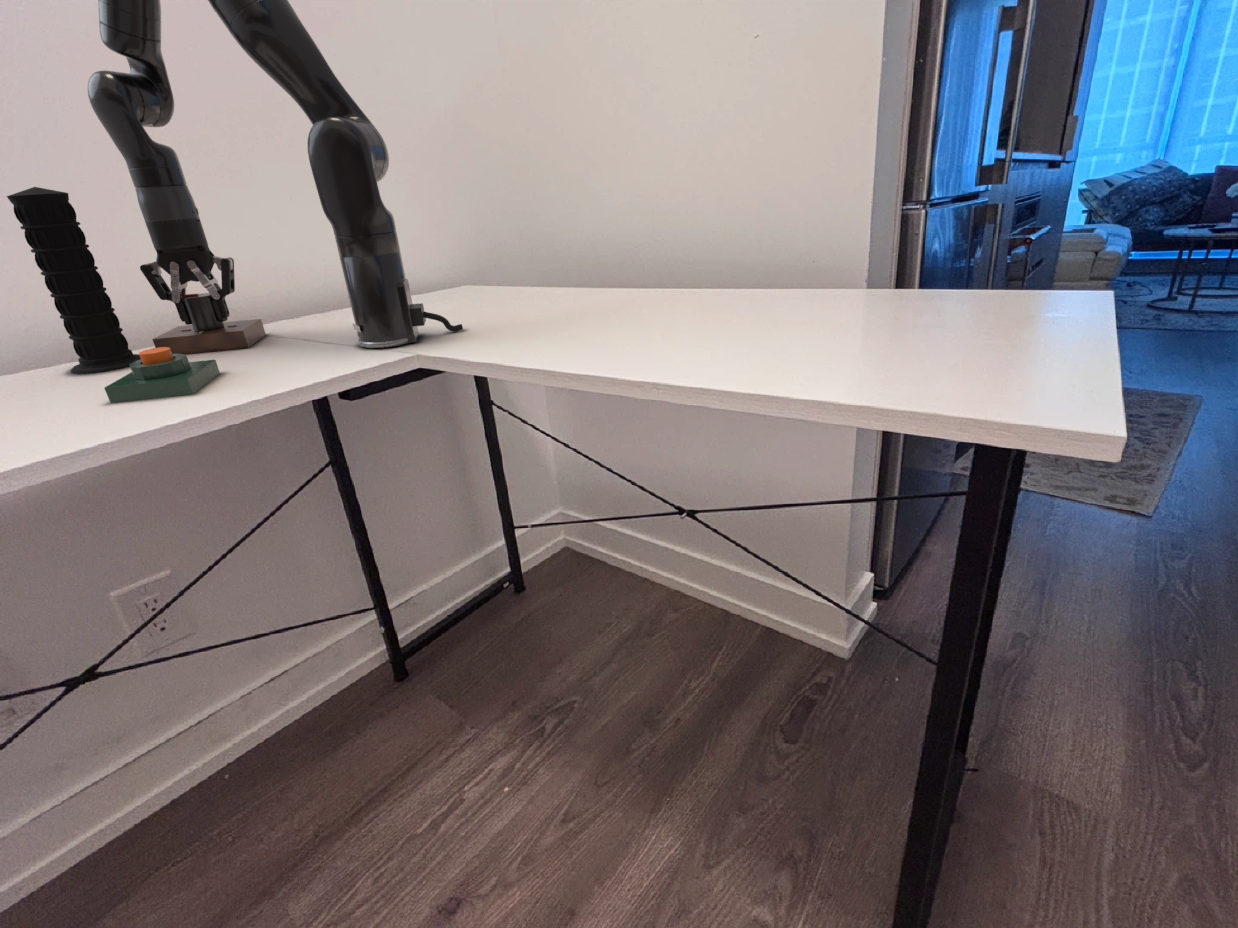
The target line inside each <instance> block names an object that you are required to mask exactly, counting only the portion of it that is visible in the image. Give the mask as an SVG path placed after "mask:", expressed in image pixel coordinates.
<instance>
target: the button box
mask: <svg viewBox="0 0 1238 928" xmlns="http://www.w3.org/2000/svg"><path fill="white" fill-rule="evenodd" d="M172 355H173V357H174V359H173V360H170V361H167V362H162V363H157V364H148V365H143V363H142V360H137V361H135V362H133V363H131V364H129V366H130V367H129V368H130V370H131V372H129V373H128V374H125V375H124V376H122V377H120V378H119V379H117V380H115V381H114V382H113V381H112V383H110V384H107V386H104V388H103V389H104V391H105V393H106V396H107V398H108V400H109V403H110V404H117V403H126V402H134V401H136V402H137V401H144V400H145V401H146V400H153V399H163V398H164V399H165V398H172V397H173V398H174V397H181V396H190V395H195V394H196V393H197V392H198V391H200V390H201V389H202V388H203V387H205V386H207V384H209V383H210V382H211V381H213V380H214V379H215V378H216V377H218V376H219V375H220V374H221V372H220V369H219V366H218V363H217V360H216V359H206V360H197V361H189V359H188V356H187V354H172Z"/></svg>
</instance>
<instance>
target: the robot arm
mask: <svg viewBox="0 0 1238 928" xmlns="http://www.w3.org/2000/svg"><path fill="white" fill-rule="evenodd" d="M97 2H98V3H97V4H98V20H99V21H98V24H99V25H98V27H99V35H100V39H101V41H102V43H103V45H104V46H105V47H107V48H108V49H109V50H110V51H112V52H113V53H115V54H118V55H120V56H122V57H125V58H126V60H127V61H126V62H127V63H128V67H129V71H130V72H129V73H128V72H121V71H114V70H97V71H95V72H93V73H92V74H91V75H90V77H89V79H88V82H87V97H88V101H89V104H90V105H91V108H92V110H93V112H94V113H95V115H96V117H97V119H98V121H99V122H100V123H101V125H102V127H103V128H104V130H105V131H106V133H107V134H108V136H109V138H110V139H111V141H112V142H113V144H114V145H115V147H116V149H117V150H118V151H119V153H120V155H121V156H122V157H123V159H124V161H125V164H126V166H127V169H128V172H129V175H130V178H131V181H132V184H133V186H134V190H135V192H136V193H135V194H136V197H137V202H138V206H139V209H140V212H141V214H142V217H143V220H144V224H145V226H146V229H147V231H148V234H149V237H150V239H151V242H152V245H153V249H154V250H155V252H156V258H155V261H153V262H149V263H145V264H141V265H140V266H139V271H141V273H142V275H143V276H144V277H145V279H146V280H147V282H148V283H149V285H150V286H151V288H152V289H153V291H154V292H155V294H156V295H157V297H158V298H159V299H160V300H161V301H169V302H172V303H173V304H174V305H175V309H176V311H177V314H178V316H179V319H180V320H181V322H184V324H185V326H187V325H192V323H191V320H190V317H189V315H188V312H187V309H186V306H185V303H184V300H183V295H185V294H187V288H188V283H189V282H196V283H197V282H199V283H200V284H201V286H202V287H203V288H205V289H206V291H207V293H210V295H211V296H212V297H213V298H214V300H213V301H212V302H213V305H214V308H215V311H216V314H217V317H218V320H219V322H227V321H228V317H230V315H231V313H230V310H229V306H228V304H227V300H226V296H229V295H230V294H233V293H234V292H235V291H236V284H235V283H236V282H235V261H234V258H233V257H229V256H228V257H221V256H215V254H214V253H213V252H212V250H211V249H210V247H209V243H208V239H207V237H206V233H205V231H204V226H203V224H202V221H201V218H200V215H199V214H200V212H199V209H198V208H197V205H196V203H195V200H194V198H193V195H192V193H191V191H190V189H189V187H188V183H187V180H186V177H185V174H184V171H183V168H182V165H181V161H180V159H179V156H178V154H177V152H176V151H175V150H174V149H173V148H172V147H171V146H168V145H166V144H162V143H159V142H158V141H157V142H156V141H155V140H153V139H152V138H151V136H150V135H149V134H148V132H147V131H146V129H145V128H163V127H165V126H167V125H168V124H169V123H170V122H171V120H172V118H173V116H174V112H175V99H174V93H173V90H172V86H171V82H170V78H169V75H168V71H167V67H166V63H165V59H164V57H163V53H162V7H161V6H162V5H161V4H162V3H161V0H98V1H97ZM207 2H208V3H209V4H210V6H211V8H212V9H213V11H214V12H215V13H216V15H217V17H218V18H219V19H220V21H221V22H222V23H223V25H224V26H225V28H226V29H227V30H228V32H229V33H230V36H232V37H233V39H234V40H235V41H236V43H237V44H238V45H239V47H240V48H241V49H242V50H243V51H244V52H245V54H246V55H247V56H248V57H249V58H250V59H251V60H252V62H254V63H255V64H256V65H257V66H258V67H259V68H260V69H261V71H263V72H264V73H265V74H266V75H267V76H268V77H269V78H271V80H273V81H274V82H275V83H276V84H277V85H278V86H279V87H281V89H282V90H284V91H285V93H286V94H288V95H289V96H290V98H292V99H293V101H294V102H295V103H296V104H297V105H298V106H299V107H300V109H301V110H302V112H303V113H304V115H305V116H306V117H307V118H308V120H309V121H310V123H311V125H312V126H311V127H310V130H309V132H308V135H307V142H306V143H307V145H306V146H307V147H306V148H307V155H308V161H309V166H310V169H311V173H312V177H313V180H314V181H313V182H314V184H315V188H316V192H317V195H318V199H319V202H320V205H321V208H322V211H323V213H324V215H325V217H326V220H328V222H329V224H330V225H331V228H332V231H333V236H334V240H335V244H336V248H337V252H338V256H339V261H340V265H341V269H342V273H343V278H344V282H345V285H346V291H347V295H348V299H349V305H350V308H351V311H352V317H353V320H354V323H352V327H353V330H355V331H356V334H357V337H358V344H359V346H360V347H362V348H366V349H385V348H391V347H398V346H403V345H407V344H413V343H416V342H417V340H418V337H419V330H418V329H419V328H418V327H423V326H425V325H426V321H427V319H428V320H434V321H437V322H440V323H442V324H443V325H444V327H445V328H446V329H447V330H448V331H449V332H452V333H453V332H460V331H463V330H464V329H463V328H464V326H463V324H462V323H459V324H456V325H452V324H451V323H450V321H449V320H448V319H447V318H446V317H444V316H442V315H440V314H437V313H432V312H428V311H425V307H424V303H423V302H422V303H413V299H412V294H411V288H410V283H409V279H408V278H406V274H405V273H406V272H405V269H404V264H403V263H404V261H403V258H402V253H401V248H400V243H399V237H398V232H397V226H396V222H395V221H396V220H395V218H394V215H393V213H392V212H391V211H390V210H389V209H388V208H387V207H386V205H385V204H384V202H383V199H382V197H381V194H380V189H379V185H378V183H379V182H380V181H382V180H383V179H384V178H385V177H386V175H387V172H388V170H389V165H390V156H389V155H390V154H389V151H388V146H387V144H386V142H385V140H384V138H383V136H382V135H381V132H379V130H378V129H377V127H376V126H375V125H374V124H373V122H371V120H370V119H369V118H368V116H367V115H366V113H364V110H362V109H361V108H360V106H359V105H358V104H357V102H356V101H355V100H354V98H353V97H352V95H350V94H349V92H348V91H347V90H346V88H345V87H344V86H343V84H342V82H340V80H339V79H338V78H337V76H336V74H335V73H334V72H333V70H332V68H331V67H330V65H329V64H328V62H327V60H326V58H325V56H324V55H323V53H322V52H321V50H320V49H319V47H318V45H317V44H316V42H315V41H314V40H313V39H314V38H313V37H312V36H311V35H310V33H309V32H308V30H307V29H306V27H305V25H304V24H303V23H302V21H301V19H300V17H299V16H298V15H297V12H296V10H295V9H294V7H293V6H292V4H291V3H290V1H289V0H207ZM214 265H216V266H217V270H219V271H220V274H221V275H220V277H221V285H220V284H219V281H218V279H217V278H216V277H215V275H214V274H213V272H212V270H213V268H214ZM162 270H163V271H164V272H166V273H167V274H168V275H169V276H170V287H169V285H168V284H167V282H166V280H165V279H164V278H163V276H162V273H163V272H162Z"/></svg>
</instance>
